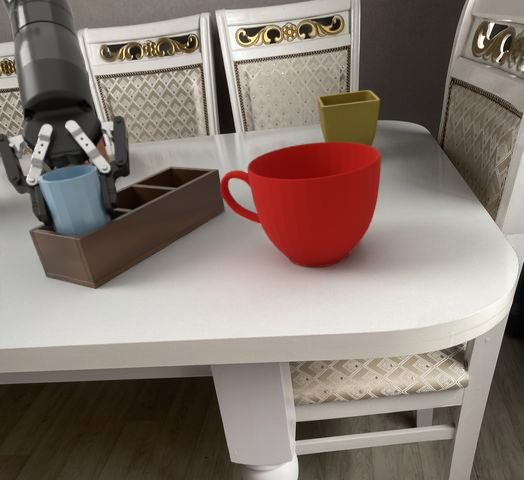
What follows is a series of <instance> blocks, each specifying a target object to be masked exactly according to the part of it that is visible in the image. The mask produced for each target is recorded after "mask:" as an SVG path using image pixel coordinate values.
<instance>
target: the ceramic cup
mask: <svg viewBox="0 0 524 480" xmlns="http://www.w3.org/2000/svg"><path fill="white" fill-rule="evenodd" d="M246 169H247V172H246V171H244V170H238V169H235V170H230V171H229V172H228V171H227V172H226V173H225V174H224V175H223V176H222V179H220V182H221V184H220V190H221V194H222V197H223V201H224V202H225V204H226V205H227V206H228V207H229V208H230V209H231V210H232V211H233V212H234V213H236V214H237V215H239V216H241V217H242V218H244V219H247V220H248V221H252V222H254V223H257V224H260V225H261V227H262V229H263V231H264V234H265V235H266V237H267V238H268V239H269V241H270V242H271V243H272V244H273V245H274V247H275V248H277V250H279V251H280V252H281V253H282V254H283V255H284V256H285V257H287V258H288V260H289V261H290V262H292V263H293V264H296V265H298V266H302V267H312V268H313V267H314V268H316V267H317V268H319V267H325V266H331V265H335V264H337V263H340V262H342V261H344V260H345V259H347V258H348V257H349V256H350V253H351V252H352V251H353V250H354V249H355V248H356V247H357V246H358V244H359V243H360V242H361V241H362V239H363V238H364V236H365V235H366V233H367V231H368V230H369V227H370V225H371V223H372V222H373V221H372V220H373V218H374V214H375V211H376V207H377V202H378V197H379V190H380V180H381V169H382V157H381V154H380V151H379V150H378V149H376V148H375V147H373V146H368V145H364V144H359V143H351V142H325V141H322V142H311V143H309V142H308V143H302V144H295V145H291V146H286V147H282V148H278V149H274V150H271V151H268V152H266V153H263V154H261V155H259V156H257V157H255V158H253V159H251V160H250V162H249V163H248V165H247V168H246ZM232 179H237V180H241V181H243V182H245V183H246V185H248V186H249V188H250V192H251V196H252V200H253V201H252V202H253V204H254V208H255V211H256V212H254V211H252V210H250V209H248V208H246V207H245V206H243V205H241V204H240V203H239V202H238V201H237V200H236V199H235V198H234V197H233V195H232V193H231V190H230V187H229V182H230V180H232Z"/></svg>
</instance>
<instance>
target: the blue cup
mask: <svg viewBox="0 0 524 480" xmlns="http://www.w3.org/2000/svg"><path fill="white" fill-rule="evenodd" d="M38 182H39V185H40V188H41V191H42V194H43V197H44V200H45V202H46V205H47V208H48V211H49V214H50V217H51V220H52V222H53V225H54V228H55V231H56V232H58V233H64V234H70V235H75V236H82V235H84V234H86V233H88V232H90V231H92V230H94V229H96V228H98V227H100V226H102V225H104V224H106V223H108V222H110V221H112V220H111V216H110V215H108V214H107V212H106V209H105V206H104V202H103V197H102V192H101V186H100V180H99V174H98V170H97V167H96V166H94V165H86V164H84V165H73V166H67V167H62V168H58V169H54V170H51V171H49V172H46V173H44V174H42V175H41V176H39V178H38Z"/></svg>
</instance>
